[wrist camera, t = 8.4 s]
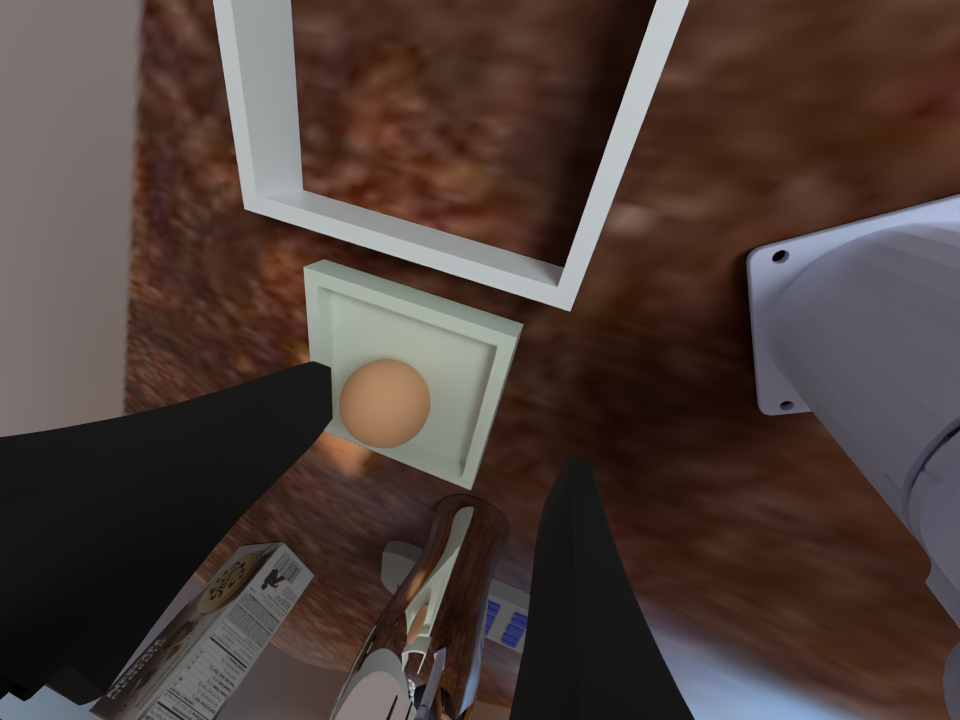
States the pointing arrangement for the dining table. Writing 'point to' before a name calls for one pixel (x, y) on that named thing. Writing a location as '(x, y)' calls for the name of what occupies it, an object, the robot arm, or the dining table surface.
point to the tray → (414, 360)
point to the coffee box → (211, 640)
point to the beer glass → (431, 624)
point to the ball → (384, 403)
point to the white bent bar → (279, 194)
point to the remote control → (503, 603)
